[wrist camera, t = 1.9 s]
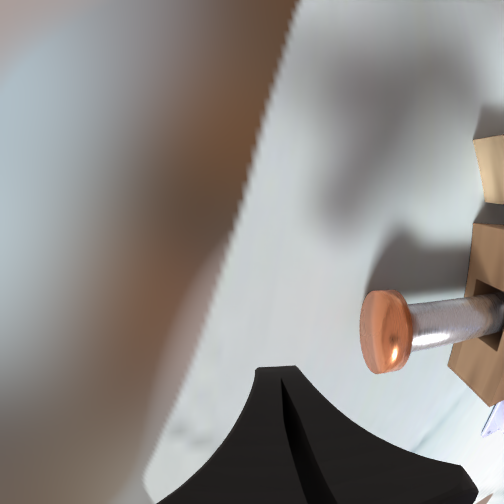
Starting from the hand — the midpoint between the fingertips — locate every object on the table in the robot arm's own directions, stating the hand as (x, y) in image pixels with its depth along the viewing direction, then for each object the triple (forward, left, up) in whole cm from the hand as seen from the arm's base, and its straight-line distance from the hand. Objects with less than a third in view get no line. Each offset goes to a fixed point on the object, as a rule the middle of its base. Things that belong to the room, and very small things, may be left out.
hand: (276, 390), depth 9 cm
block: (-16, -9, -7) cm, 20 cm away
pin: (-11, 0, -6) cm, 12 cm away
